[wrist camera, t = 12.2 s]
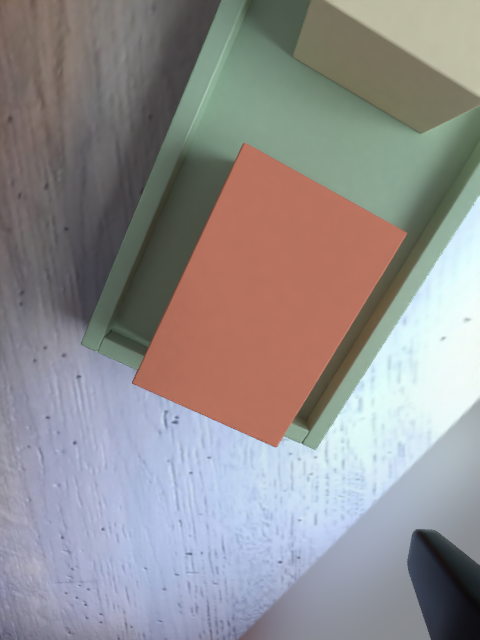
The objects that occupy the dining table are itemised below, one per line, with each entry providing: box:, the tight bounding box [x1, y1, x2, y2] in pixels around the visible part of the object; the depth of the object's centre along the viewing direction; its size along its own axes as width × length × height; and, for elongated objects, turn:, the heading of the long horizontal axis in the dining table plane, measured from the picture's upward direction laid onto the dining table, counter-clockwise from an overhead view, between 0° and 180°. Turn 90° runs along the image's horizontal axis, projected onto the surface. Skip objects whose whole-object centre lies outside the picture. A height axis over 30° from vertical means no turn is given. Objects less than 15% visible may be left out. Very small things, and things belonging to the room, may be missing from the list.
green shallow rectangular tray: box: [81, 0, 480, 450], centre depth 13 cm, size 24×12×5 cm, turn 153°
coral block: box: [132, 143, 407, 447], centre depth 14 cm, size 9×6×4 cm, turn 153°
